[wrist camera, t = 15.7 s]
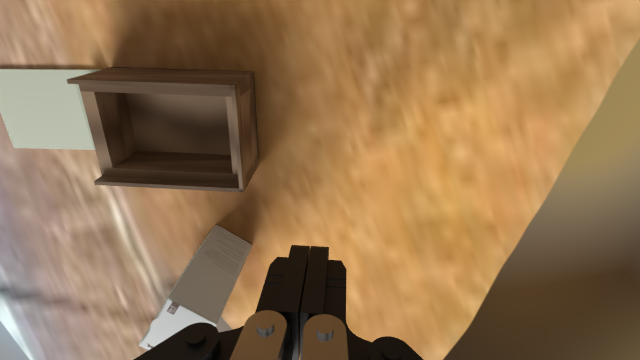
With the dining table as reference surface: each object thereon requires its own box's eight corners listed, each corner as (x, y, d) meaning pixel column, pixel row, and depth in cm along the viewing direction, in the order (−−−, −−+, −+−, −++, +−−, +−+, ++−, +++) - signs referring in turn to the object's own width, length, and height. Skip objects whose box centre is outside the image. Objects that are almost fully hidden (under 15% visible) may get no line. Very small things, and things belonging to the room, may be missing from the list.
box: (112, 67, 41) (66, 79, 35) (253, 71, 40) (234, 85, 34) (132, 158, 46) (95, 184, 39) (259, 164, 45) (243, 192, 39)
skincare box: (227, 280, 54) (186, 373, 40) (189, 260, 53) (135, 349, 39) (254, 241, 50) (220, 328, 37) (215, 219, 49) (164, 300, 36)
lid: (-9, 67, 43) (-37, 72, 40) (112, 68, 42) (93, 73, 39) (20, 145, 47) (-4, 155, 44) (131, 147, 46) (114, 158, 43)
